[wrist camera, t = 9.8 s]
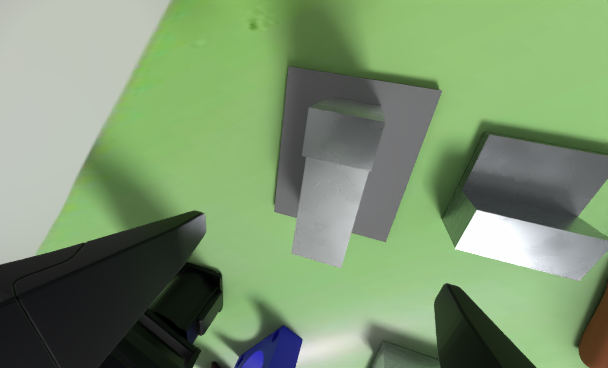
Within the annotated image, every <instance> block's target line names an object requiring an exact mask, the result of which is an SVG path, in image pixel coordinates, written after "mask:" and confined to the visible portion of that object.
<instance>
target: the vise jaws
mask: <svg viewBox="0 0 608 368" xmlns="http://www.w3.org/2000/svg"><path fill="white" fill-rule="evenodd" d="M607 179H608V154H604V153H598V152H593V151H587V150H582V149H576V148H571V147H565V146H560V145H554V144H549V143H543V142H538V141H532V140H527V139H521V138H516V137H510V136H505V135H499V134H494V133H488V132H484V134H483V136H482V138H481V140H480V142H479V144H478V146H477V148H476V150H475V152H474V154H473V156H472V158H471V161H470V163H469V165H468V167H467V169H466V171H465V173H464V175H463V177H462V179H461V181H460V183H459V185H458V187H457V190H456V192H455V194H454V196H453V198H452V200H451V202H450V204H449V206H448V208H447V210H446V212H445V214H444V216H443V219H442V221H443V223H444V225H445V227H446V230H447V232H448V234H449V236H450V238H451V240H452V242H453V244H454V246H455V248H456V249H459V250H463V251H467V252H471V253H475V254H478V255H482V256H486V257H490V258H494V259H497V260H501V261H505V262H509V263H513V264H516V265H520V266H524V267H528V268H532V269H535V270H539V271H543V272H547V273H551V274H554V275H558V276H562V277H566V278H570V279H573V280H577V281H580V280H581V279H582V278H583V277H584V276H585V274H586V273H587V272H588V271H589V270H590V269H591V268H592V267H593V266H594V265H595V264H596V263H597V262H598V260H599V259H600V258H601V257H602V256H603V255H604V254H605V253H606V252H607V251H608V237H607V236H605V235H604V234H602V233H601V232H599V231H598V230H596V229H595V228H594V227H592V226H591V225H589V224H588V223H586V222H585V221H583V220H582V219H581V218H579V217H578V216H579V214H580V213H581V212H582V211H583V209H584V208H585V207H586V205H587V204H588V203H589V202H590V200H591V199H592V198H593V197H594V195H595V194H596V193H597V192H598V190H599V189H600V188H601V186H602V185H603V184H604V183H605V181H606V180H607ZM370 368H440V363H439V360H438V359H435V358H432V357H429V356H426V355H423V354H420V353H417V352H414V351H411V350H408V349H405V348H402V347H399V346H397V345H394V344H391V343H388V342H385V341H383V343H382V345H381V347H380V349H379V351H378V353H377V355H376V357H375V359H374V361H373V363H372V365H371V367H370Z"/></svg>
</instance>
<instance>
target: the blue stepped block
mask: <svg viewBox="0 0 608 368" xmlns="http://www.w3.org/2000/svg"><path fill="white" fill-rule="evenodd" d="M301 344H302V339H301V338H300V337H299V336H297V335H296V334H295V333H293V332H292V331H291V330H289V329H288V328H287V327H285V326H284V325H283V326H282V327H280V328H279V329H278V330H276V331H275V332H273V333H272V334H271V335H269V336H268V337H266V338H265V339H264V340H262V341H261V342H259V343H258V344H257V345H255V346H254V347H252V348H251V349H250V350H248V351H247V352H245V353H244V354H243V355H241V356H240V357H239V359H238V361H237V363H236V365H235V367H234V368H295V367H296V363H297V359H298V355H299V352H300V348H301Z"/></svg>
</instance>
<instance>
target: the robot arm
mask: <svg viewBox="0 0 608 368" xmlns="http://www.w3.org/2000/svg"><path fill="white" fill-rule="evenodd" d="M205 233H206V217H205V214H204V213H202V212H199V211H191V212H187V213H184V214H180V215H177V216H174V217H170V218H167V219H163V220H160V221H156V222H153V223H150V224H146V225H143V226H139V227H136V228H132V229H129V230H126V231H122V232H119V233H115V234H112V235H108V236H105V237H102V238H98V239H95V240H91V241H88V242H86V243H81V244H77V245H74V246H71V247H67V248H63V249H60V250H56V251H53V252H49V253H45V254H41V255H37V256H33V257H29V258H25V259H22V260H17V261H14V262H9V263H5V264H1V265H0V368H193V366H194V364H195V362H196V360H197V358H198V356H199V354H200V352H201V349H200V348H198V347H195V346H194V345H193V342H194V341H195V339H196V338H197V336H198V335H200V336H202V335H204V334H205V332H206V330H207V329H208V327H209V326H210V324H211V323H212V321H213V320H214V318H215V317H216V315H217V314H218V312H220V311H221V310H222V308H223V291H222V276H221V275H220V274H219V273H217V272H214V271H211V270H208V269H205V268H201V267H198V266H195V265H192V264H189V263H186V261H187V260H188V259H189V257H190V256H191V254H192V253H193V251H194V250H195V248H196V247H197V245H198V244H199V243H200V241H201V240H202V238H203V237H204V235H205ZM434 311H435V324H436V337H437V349H438V357H439V363H440V368H536V367H535V366H534V365H533V363H532V362H531V361H530V360H529V359H528V358H527V357H526V356H525V355H524V354H523V353H522V352H521V351H520V350H519V349H518V348H517V347H516V346H515V345H514V344H513V342H512V341H511V340H510V339H509V338H508V337H507V336H506V335H505V334H504V333H503V332H502V331H501V330H500V329H499V328H498V327H497V326H496V325H495V324H494V323H493V321H492V320H491V319H490V318H489V317H488V316H487V315H486V314H485V313H484V312H483V311H482V310H481V309H480V308H479V307H478V306H477V305H476V304H475V303H474V302H473V300H472V299H471V298H470V297H469V296H468V295H467V294H466V293H465V292H464V291H463V290H462V289H461V288H460V287H458V286H455V285H452V284H448V283H446V284H444V285H443V287H442V288H441V290H440V292H439V294H438V295H437V297H436V299H435V302H434Z"/></svg>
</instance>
